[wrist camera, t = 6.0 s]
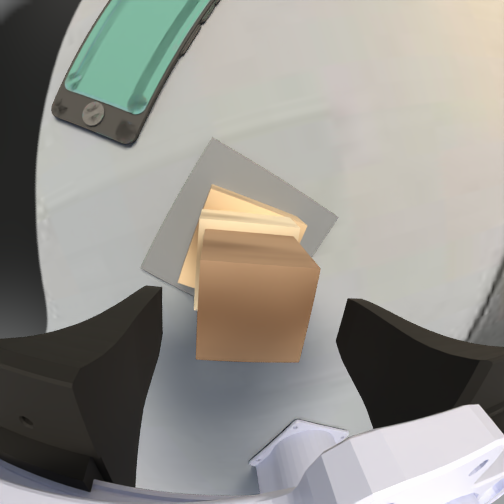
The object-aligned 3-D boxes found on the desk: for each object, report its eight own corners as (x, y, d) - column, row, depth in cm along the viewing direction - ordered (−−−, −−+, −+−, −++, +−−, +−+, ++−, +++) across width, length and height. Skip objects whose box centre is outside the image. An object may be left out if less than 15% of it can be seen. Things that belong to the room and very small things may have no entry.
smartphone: (47, 113, 16) (151, -55, 12) (55, 114, 17) (154, -48, 13) (132, 148, 17) (241, -33, 14) (137, 147, 19) (239, -24, 15)
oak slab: (262, 293, 22) (268, 311, 19) (181, 267, 21) (177, 282, 18) (297, 216, 20) (307, 225, 18) (211, 183, 19) (210, 188, 17)
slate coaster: (260, 324, 23) (261, 329, 23) (141, 264, 21) (140, 267, 20) (335, 215, 21) (338, 217, 21) (212, 137, 19) (212, 137, 18)
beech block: (276, 295, 19) (284, 315, 17) (196, 290, 18) (193, 309, 16) (289, 217, 18) (300, 228, 15) (202, 208, 17) (199, 218, 15)
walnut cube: (280, 313, 17) (298, 362, 13) (200, 308, 16) (195, 359, 12) (293, 236, 15) (320, 268, 11) (205, 228, 15) (200, 259, 11)
